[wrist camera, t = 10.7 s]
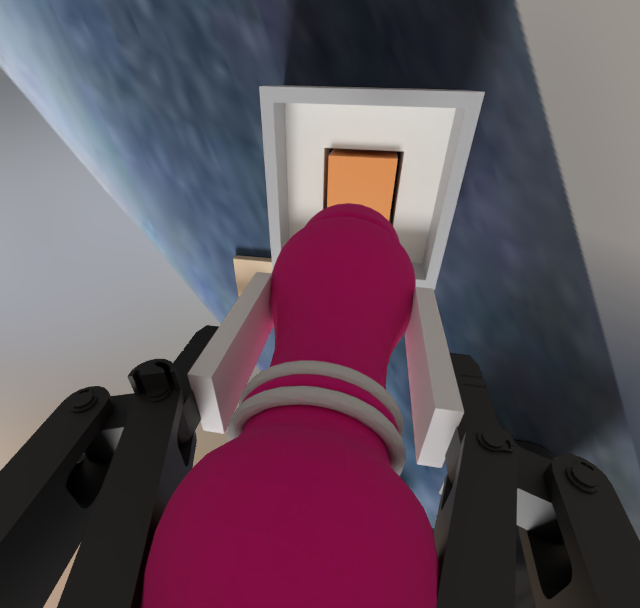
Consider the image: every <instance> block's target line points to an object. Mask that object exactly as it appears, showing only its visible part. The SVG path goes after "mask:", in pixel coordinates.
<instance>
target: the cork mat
mask: <svg viewBox="0 0 640 608" xmlns="http://www.w3.org/2000/svg"><path fill="white" fill-rule="evenodd" d="M233 261H234V268H235V275H236V282H237V289H238V296H239V297H240V295H241V294H242V292H243V291H244V289H245V288H246V286H247V285H248V284H249V282H250V281H251V279H252V278H253V276H254V275H255V273H256V272H263V273H272V258H262V257H250V256H239V255H236V256H235V257H234V258H233ZM273 326H274V325H273Z"/></svg>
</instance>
